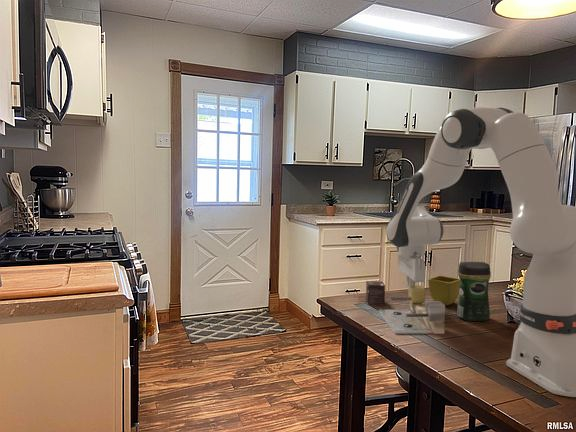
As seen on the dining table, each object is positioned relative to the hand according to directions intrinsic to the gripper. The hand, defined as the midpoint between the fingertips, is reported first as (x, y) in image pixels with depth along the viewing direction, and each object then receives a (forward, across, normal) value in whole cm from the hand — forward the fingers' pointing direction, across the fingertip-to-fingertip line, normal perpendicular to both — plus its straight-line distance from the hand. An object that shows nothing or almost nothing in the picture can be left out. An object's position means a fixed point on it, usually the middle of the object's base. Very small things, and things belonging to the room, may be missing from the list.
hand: (410, 288), depth 154 cm
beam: (+6, -16, +3) cm, 18 cm away
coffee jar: (+6, -14, -16) cm, 22 cm away
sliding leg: (+3, -6, +3) cm, 7 cm away
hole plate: (+6, -18, +8) cm, 21 cm away
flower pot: (+6, +3, -13) cm, 15 cm away
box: (+7, +4, +12) cm, 14 cm away
